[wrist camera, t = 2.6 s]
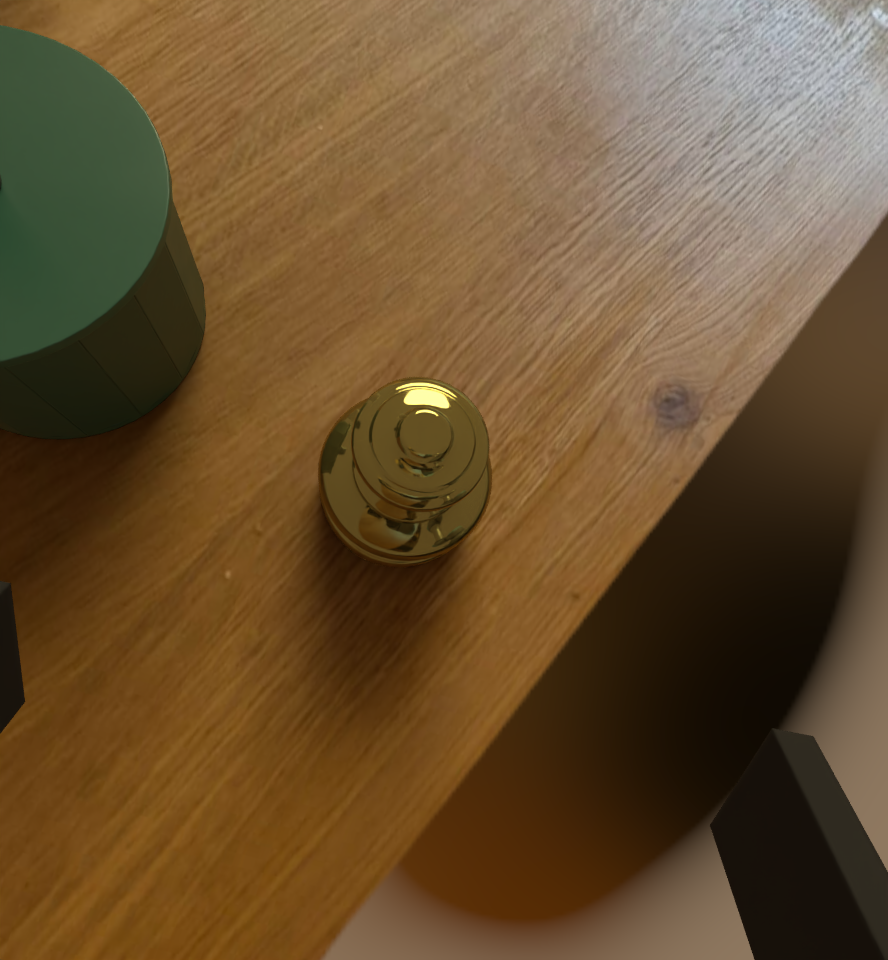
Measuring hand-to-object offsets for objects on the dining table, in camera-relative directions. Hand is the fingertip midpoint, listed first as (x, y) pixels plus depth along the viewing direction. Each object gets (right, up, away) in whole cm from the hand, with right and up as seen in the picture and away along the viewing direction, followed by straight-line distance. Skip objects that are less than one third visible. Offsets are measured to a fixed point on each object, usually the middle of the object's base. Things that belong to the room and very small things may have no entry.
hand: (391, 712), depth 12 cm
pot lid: (-15, +14, +11) cm, 24 cm away
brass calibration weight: (-1, +3, +21) cm, 21 cm away
